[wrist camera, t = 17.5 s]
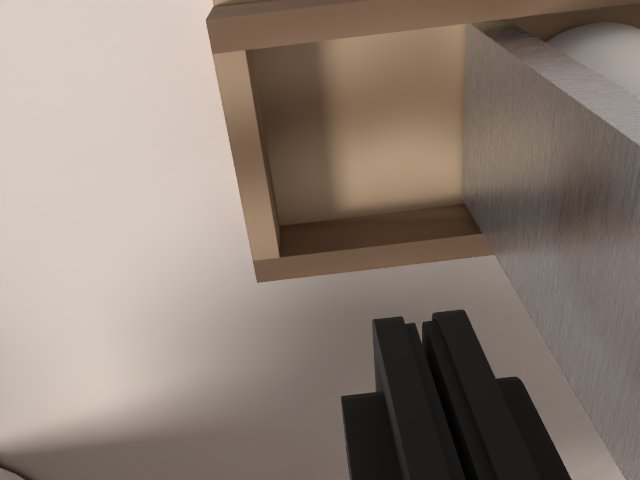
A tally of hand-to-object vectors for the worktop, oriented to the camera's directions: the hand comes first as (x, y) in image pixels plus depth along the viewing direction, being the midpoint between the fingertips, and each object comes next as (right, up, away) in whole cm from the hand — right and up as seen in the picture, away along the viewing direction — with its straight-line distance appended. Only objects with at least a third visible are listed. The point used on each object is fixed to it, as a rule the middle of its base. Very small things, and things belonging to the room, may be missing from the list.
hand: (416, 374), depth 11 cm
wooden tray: (+4, +8, +11) cm, 14 cm away
